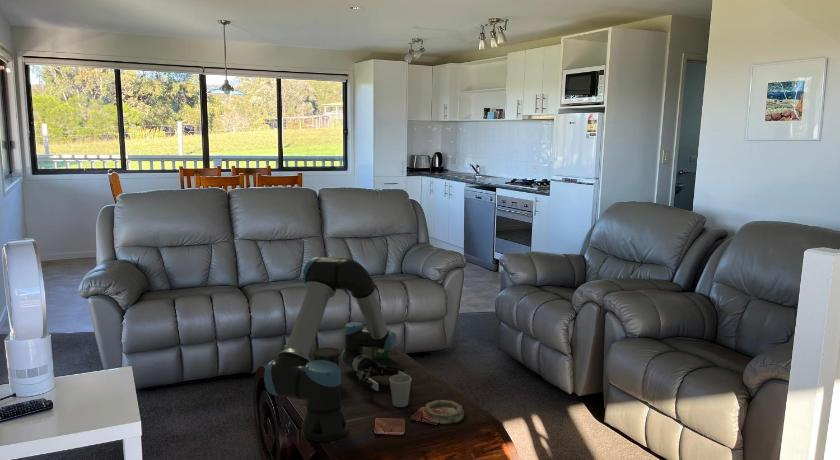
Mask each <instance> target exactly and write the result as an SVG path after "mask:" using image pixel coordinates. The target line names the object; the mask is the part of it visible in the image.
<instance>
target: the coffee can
mask: <svg viewBox="0 0 840 460" xmlns="http://www.w3.org/2000/svg"><path fill="white" fill-rule="evenodd" d="M340 355H341V353H340V350H339V348H335V347H321V348H317V349H314V351H313V361H314V360H319V361H320V360H326V361H330V362H333V363H335V364H336V365H338V367H339V368H340V369H341V366H340Z"/></svg>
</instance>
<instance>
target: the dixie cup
mask: <svg viewBox="0 0 840 460" xmlns="http://www.w3.org/2000/svg"><path fill="white" fill-rule="evenodd" d="M412 378H413V377H411V376H410V375H408V374H406V375H404V374H398V375H393V376H389V379H388V380H389V383H390V385H389V386H390V391H391V392H390V393H391V401H392V406H394V407H396V408H405V407H407V406H408V405H409V399H410V398H409V397H410V393H411V392H410V390H411V383H412Z"/></svg>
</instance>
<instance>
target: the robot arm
mask: <svg viewBox="0 0 840 460" xmlns="http://www.w3.org/2000/svg"><path fill="white" fill-rule="evenodd" d="M302 274H303V275H302V281H303V284H304V288H305V290H306V293H305V295H304V297H303V301H302V304H301V306H300V309H299V311H298V313H297V317H296V320H295V322H294V325H293V327H292V330H291V333H290V335H289V339H288V341H287V344H286V345H287V346H286V349H285V350H284V349H283V350H282V351H280V352H279V353H278V355H277V358H276V359H272V360H270V361H269V362H268V363H267V364H266V367H265V370H264V375H263V376H264V377H263V379H264V380H263V382H264V386H265V388H266V391H267V392H268V393H269V394H270V395H273V396H276V397H277V396H278V397H279V398H288V399H289V398H290V399H293V400H294V399H296V400H301V401H305V402H306V412H305V415H304V417H303V420H302V424H301V436H302V438H305V439H306V440H309V441H311V442H318V443H319V442H320V443H321V442H322V443H323V442H331V441H335V440H338V439H340V438H342V437H343V436H345V435H346V434H347V432H348V422H347V419H346V417H345V414H344V412H343V411H344V410H343V409H342V382H343V379H342V372H341V367H340V368H339V367H338V365H336V364H335V363H333V362H330V361H326V360H320V361H319V360H314V359H313V360H310V354H311V351H312V348H313V346H314V343H315V340H316V337H317V333H319V329H320V327H321V323H322V319H323V317H324V315H325V313H326V312H325V311H326V308H327V305H328V304H329V303H328V302H329V299H330V298H334V297H335V294H336V293H337V290H345V291H347V292H349V293H350V294H351V297H353V299H355V301H356V302H357V305H358V308H359V310H360V313H361V316H362V318H363V322H364V323H365V327H366V328H364V326H363V323H361V322H359V321H351V322H347V323H346V324H345V325H344V334H343V335H344V349H343V350H342V352H341V353H340V361H341V362H342V363H343V364H344V365H345V366H346V367H347V368H350V369H351V370H353V371H355V372H356V378H358V384H359V386H360V387H362V386H363V385H364V387H365V388H368V387H370V388H372V389H373V390H375V392H378V391H379V383H378V382H377V381H375V380H374V379H372V378H373V377H380V376H381V377H384V376H389V377H391V376H393V375H398V374H404V375H407V374H406V373H405V368H404V367H399V366H395V365H389V364H387V363H384V364H383V366H382V365H378V364H377V361H375V359H373V358H370V357H369V356H367V355H365V354H363V351H364V349H363V348H369V349H372V348H375V349H382V350H389V351H393V350H394V349H395V347H396V345H397V335H396V333H395V332H393V331H391V330H390V332H388V330H389V329H388V328H387V324H386V321H385V318H384V316H383V313H382V310H381V308H380V307H381V306H380V304H379V302H378V299H377V296H376V292H375V290H376V285H375V281H374V279H373V277H372V276H371V274H370V273H369V271H368V270H367V269H366V268H365V267H364V266H363V265H362V264H361V263H360V262H358V261H356V260H355V259H351V258H343V257H328V256H314V257H311V258H310V259H309V260H307V262H306V263H305V265H304V267H303V271H302ZM363 377H364V379H363Z"/></svg>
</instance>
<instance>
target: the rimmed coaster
mask: <svg viewBox="0 0 840 460" xmlns="http://www.w3.org/2000/svg"><path fill="white" fill-rule="evenodd" d="M424 408H425V409H424ZM424 408H423V409H424V412H426V413H427V414H428V415H429V416H430V417H432V418H433V419H439V420H438V421H439V422H440V424H439V425H449V424H451V425H452V424H455V423H459V422H460V421H462V420H464V417H465V410H464V408H463V406H462V405H461V404H459V403H458V402H455V401H454V400H447V399H446V400H445V399H436V400H433V401H430V402H427V403H426V405H425V406H424ZM430 408H431V409H436V410H440V411H444V412H446V414H437V413H434V412H432V411H431V410H429V409H430Z"/></svg>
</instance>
